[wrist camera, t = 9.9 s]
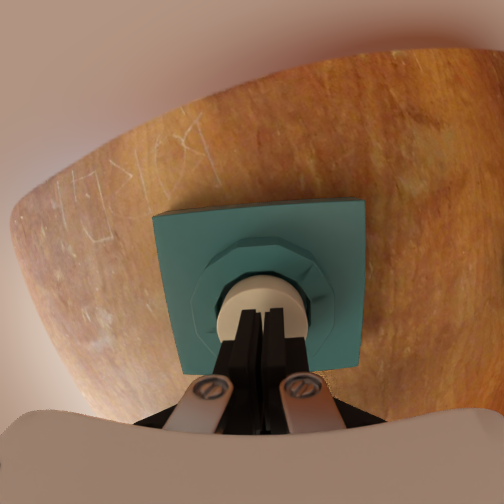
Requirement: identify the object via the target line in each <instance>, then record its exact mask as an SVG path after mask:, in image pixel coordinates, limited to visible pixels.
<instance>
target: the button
mask: <svg viewBox="0 0 504 504" xmlns="http://www.w3.org/2000/svg"><path fill="white" fill-rule="evenodd" d="M282 307H283V312H284V332H285V338H293V337H304V339H305V340H306V337H307V333H308V321H307V317H306V312H305V308H304V303H303V300H302V298H301V296H300V294H299V292H298V291H297V290H296V289H295V288H294V287H293V286H292V285H291V284H290V283H288V282H287V281H285V280H283V279H281V278H278V277H275V276H271V275H255V276H251V277H248V278H245V279H243V280H241V281H239V282H238V283H237V284H235V285H234V286H233V287H232V288H231V289H230V290H229V292H228V293H227V295H226V297H225V299H224V302H223V305H222V307H221V310H220V313H219V315H218V319H217V333H218V337H219V339H220V342H221V343H222V341H223V340H235V336H236V332H237V328H238V324H239V320H240V315H241V311H242V310H244V309H256V312H261V318H262V329H264V317H265V312H270V308H282Z"/></svg>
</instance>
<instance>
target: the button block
mask: <svg viewBox="0 0 504 504" xmlns="http://www.w3.org/2000/svg"><path fill="white" fill-rule="evenodd" d="M152 220H153V227H154V234H155V241H156V247H157V253H158V259H159V265H160V271H161V276H162V282H163V287H164V292H165V297H166V302H167V307H168V312H169V317H170V321H171V326H172V330H173V334H174V339H175V343H176V347H177V351H178V355H179V359H180V363H181V367H182V371H183V374H189V375H210V374H212V373H213V370H214V366H215V363H216V360H217V357H218V354H219V350H220V347H221V344H222V343H221V342H220V339H219V337H218V333H217V319H218V315H219V313H220V310H221V307H222V305H223V302H224V299H225V297H226V295H227V293H228V292H229V290H230V289H231V288H232V287H233V286H234V285H235V284H237V283H238V282H239V281H241V280H243V279H245V278H248V277H251V276H255V275H271V276H275V277H278V278H281V279H283V280H285V281H287V282H288V283H290V284H291V285H292V286H293V287H294V288H295V289H296V290H297V291H298V292H299V294H300V296H301V298H302V300H303V303H304V308H305V312H306V317H307V321H308V333H307V337H306V340H305V345H306V352H307V358H308V364H309V371H310V372H312V371H322V370H332V369H341V368H349V367H356V366H358V364H359V355H360V346H361V336H362V324H363V311H364V294H365V270H366V209H365V200H362V199H359V198H355V197H339V198H318V199H301V200H285V201H271V202H258V203H246V204H234V205H223V206H213V207H203V208H193V209H184V210H175V211H166V212H164V213H161V214H158V215H156V216H153V217H152Z"/></svg>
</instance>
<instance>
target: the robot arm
mask: <svg viewBox="0 0 504 504" xmlns="http://www.w3.org/2000/svg"><path fill="white" fill-rule="evenodd" d="M263 408H264V411H265V422H266V430H271V435H256V431H262V423H263ZM0 504H504V416H503V415H501V414H499V413H498V412H496V411H493V410H490V409H484V408H458V409H449V410H443V411H437V412H432V413H427V414H423V415H419V416H414V417H410V418H405V419H400V420H395V421H390V422H387V421H385V420H383V419H381V418H379V417H376V416H374V415H372V414H369V413H367V412H365V411H362V410H360V409H358V408H356V407H353V406H351V405H349V404H347V403H345V402H342V401H340V400H338V399H336V398H334V397H332V395H331V393H330V391H329V389H328V386H327V384H326V382H325V381H324V379H323V378H322V377H321V376H319V375H318V374H315V373H312V372H310V371H309V364H308V358H307V352H306V345H305V339H304V337H293V338H285V332H284V312H283V307H282V308H270V312H265V317H264V329H262V318H261V312H256V309H244V310H242V311H241V315H240V320H239V324H238V328H237V332H236V336H235V340H223V341H222V344H221V347H220V350H219V354H218V357H217V360H216V363H215V366H214V370H213V373H212V374H210V375H205V376H202V377H199V378H197V379H196V380H194V381H193V382H192V383H191V384H190V386H189V387H188V389H187V390H186V392H185V394H184V395H183V397H182V398H181V400H180V401H179V403H178V404H176V405H174V406H172V407H170V408H168V409H165V410H163V411H161V412H159V413H157V414H154V415H152V416H150V417H147V418H145V419H143V420H140V421H138V422H136V423H134V424H132V425H131V424H126V423H121V422H116V421H111V420H106V419H102V418H97V417H92V416H87V415H83V414H79V413H74V412H68V411H58V410H37V411H31V412H28V413H25V414H23V415H22V416H20V417H19V418H18V419H17V420H15V421H14V422H13V423H12V424H11V425H10V426H9V427H8V428H7V429H6V430H5V431H4V432H3V433H2V434H1V436H0Z"/></svg>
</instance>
